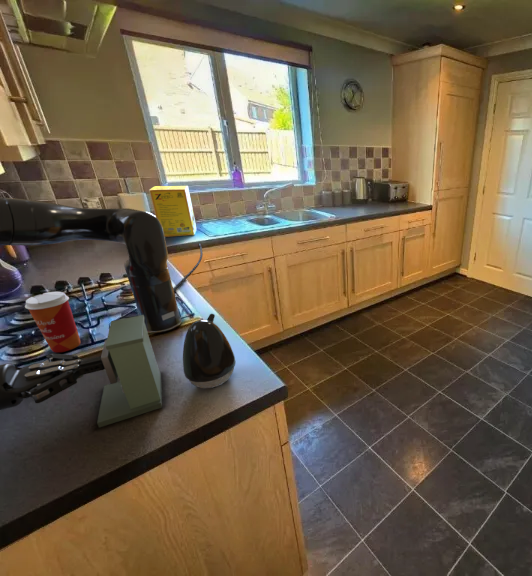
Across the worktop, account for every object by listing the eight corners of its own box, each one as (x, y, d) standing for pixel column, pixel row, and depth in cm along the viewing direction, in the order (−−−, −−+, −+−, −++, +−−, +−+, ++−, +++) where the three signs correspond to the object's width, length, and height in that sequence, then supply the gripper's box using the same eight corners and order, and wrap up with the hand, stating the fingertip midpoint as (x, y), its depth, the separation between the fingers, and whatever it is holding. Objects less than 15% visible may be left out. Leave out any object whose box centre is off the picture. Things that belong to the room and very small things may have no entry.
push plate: (113, 364, 67) (104, 339, 65) (120, 363, 68) (111, 338, 65) (110, 384, 62) (100, 358, 59) (117, 382, 62) (107, 356, 60)
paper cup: (38, 350, 82) (15, 300, 76) (74, 335, 89) (54, 288, 83) (58, 358, 80) (35, 306, 74) (93, 341, 86) (74, 293, 81)
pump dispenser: (244, 365, 79) (235, 309, 73) (227, 395, 70) (214, 334, 64) (201, 365, 79) (188, 309, 73) (178, 395, 69) (160, 334, 63)
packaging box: (165, 230, 192) (154, 186, 182) (196, 228, 198) (187, 185, 188) (160, 237, 179) (148, 189, 169) (194, 235, 185) (184, 189, 175)
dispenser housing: (105, 389, 70) (80, 325, 64) (161, 374, 75) (143, 313, 69) (98, 427, 61) (68, 356, 55) (163, 407, 66) (142, 340, 60)
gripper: (-55, 400, 48) (97, 363, 57) (-19, 354, 58) (105, 329, 67) (-31, 437, 51) (110, 397, 60) (-1, 387, 61) (116, 359, 70)
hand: (107, 361), depth 63 cm, fingers closed
